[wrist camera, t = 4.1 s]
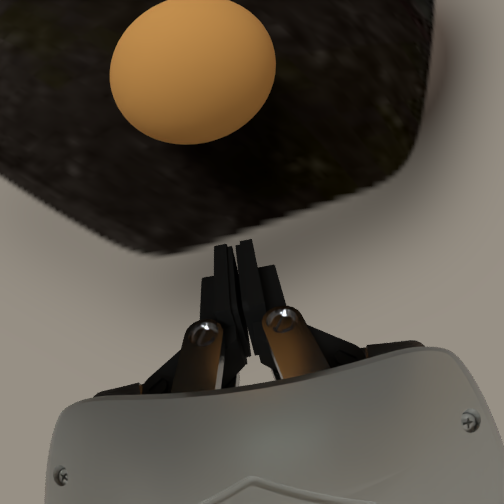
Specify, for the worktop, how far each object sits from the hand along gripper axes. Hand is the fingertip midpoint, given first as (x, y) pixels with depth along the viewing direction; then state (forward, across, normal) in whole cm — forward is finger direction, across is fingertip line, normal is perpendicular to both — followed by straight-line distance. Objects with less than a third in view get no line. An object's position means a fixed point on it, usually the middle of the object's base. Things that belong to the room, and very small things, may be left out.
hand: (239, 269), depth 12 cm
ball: (-1, 0, -8) cm, 9 cm away
